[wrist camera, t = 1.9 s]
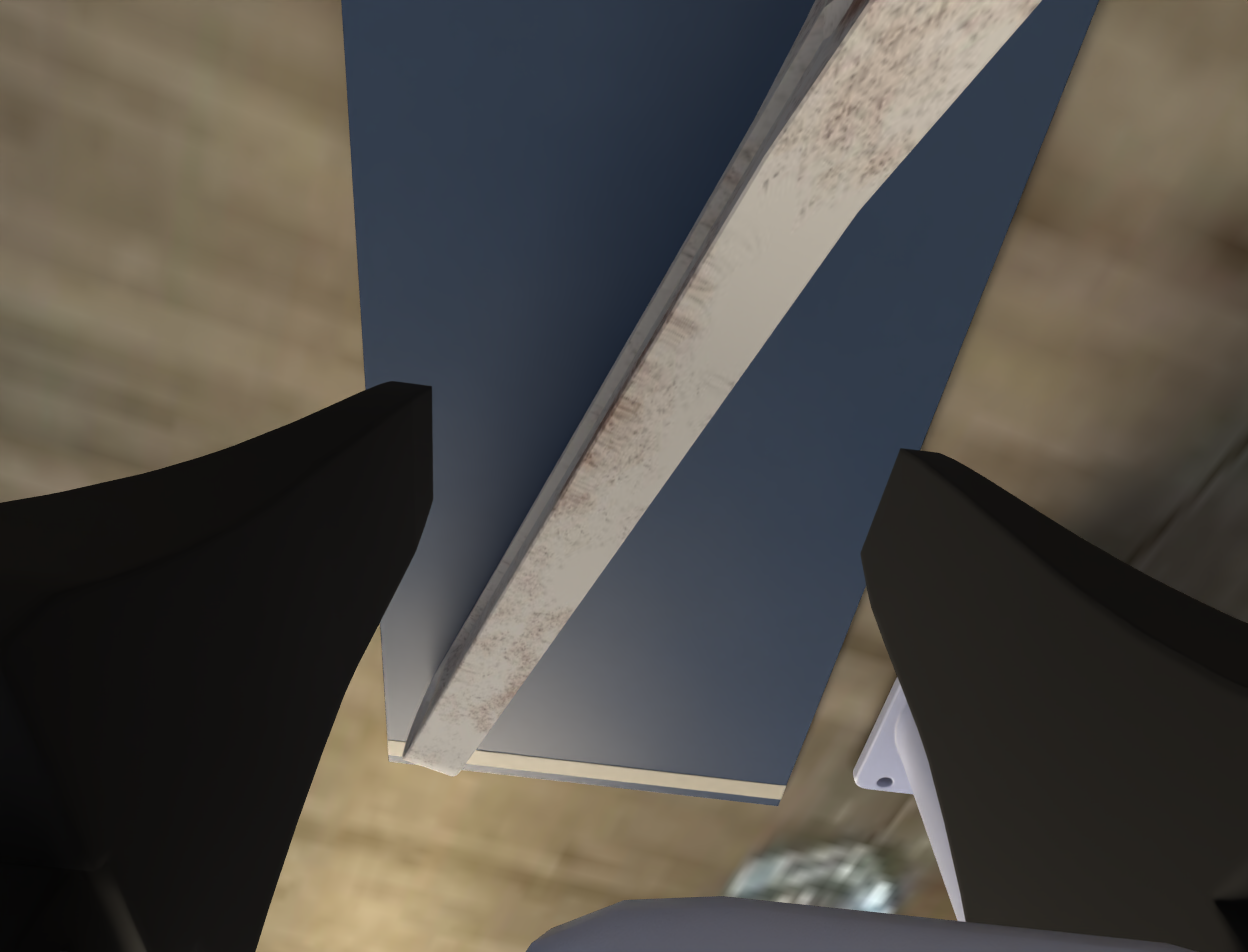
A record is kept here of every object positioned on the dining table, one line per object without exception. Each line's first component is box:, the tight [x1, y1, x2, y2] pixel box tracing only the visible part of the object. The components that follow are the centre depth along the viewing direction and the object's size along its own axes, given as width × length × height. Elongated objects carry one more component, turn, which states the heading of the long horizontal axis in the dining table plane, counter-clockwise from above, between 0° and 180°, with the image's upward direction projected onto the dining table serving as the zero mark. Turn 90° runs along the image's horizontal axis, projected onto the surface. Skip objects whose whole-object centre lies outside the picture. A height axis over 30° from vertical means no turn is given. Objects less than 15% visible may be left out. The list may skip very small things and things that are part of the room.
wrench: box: [402, 0, 1042, 776], centre depth 14 cm, size 8×2×30 cm
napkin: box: [341, 0, 1099, 806], centre depth 17 cm, size 14×34×1 cm, turn 173°
